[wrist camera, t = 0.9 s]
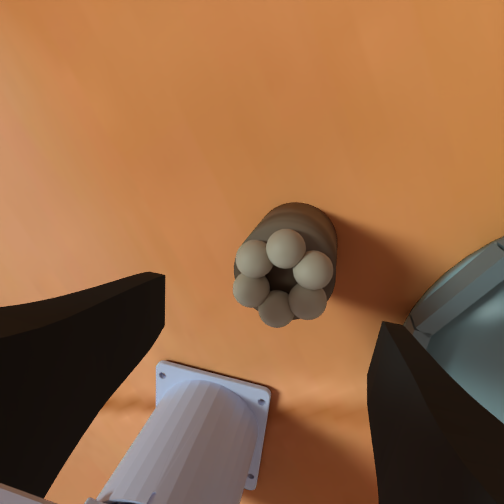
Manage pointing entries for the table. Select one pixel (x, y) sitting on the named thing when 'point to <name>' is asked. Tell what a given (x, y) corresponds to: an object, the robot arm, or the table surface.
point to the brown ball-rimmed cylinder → (287, 265)
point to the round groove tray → (468, 325)
